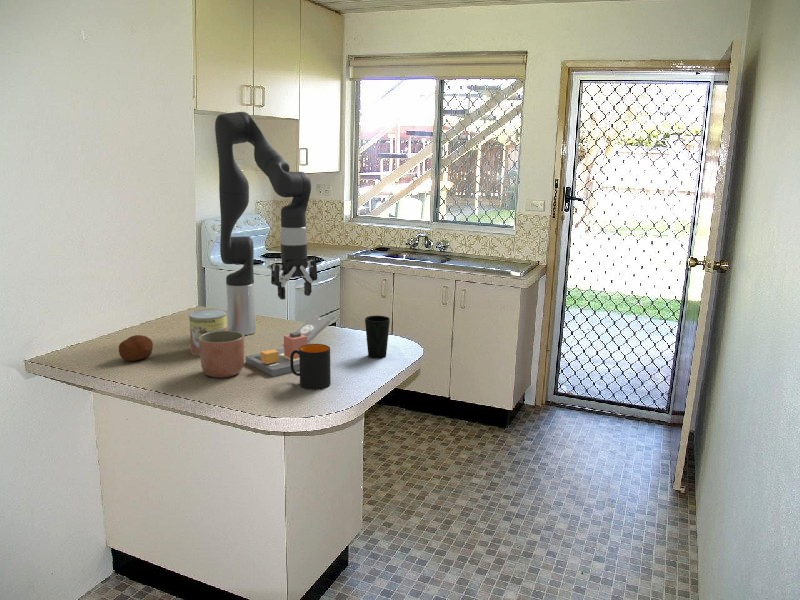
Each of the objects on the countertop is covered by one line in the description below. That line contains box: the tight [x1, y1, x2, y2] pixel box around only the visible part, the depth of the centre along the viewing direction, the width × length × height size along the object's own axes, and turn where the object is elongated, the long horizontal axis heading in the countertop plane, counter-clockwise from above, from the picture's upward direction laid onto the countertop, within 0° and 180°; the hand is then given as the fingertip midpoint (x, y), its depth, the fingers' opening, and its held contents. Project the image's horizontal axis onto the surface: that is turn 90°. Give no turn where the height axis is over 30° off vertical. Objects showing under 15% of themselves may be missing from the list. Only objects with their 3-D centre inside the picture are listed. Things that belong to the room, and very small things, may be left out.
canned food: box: [188, 309, 228, 357], centre depth 211 cm, size 11×11×12 cm
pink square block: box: [283, 331, 308, 359], centre depth 200 cm, size 5×5×7 cm
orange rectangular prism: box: [260, 349, 279, 364], centre depth 194 cm, size 3×4×3 cm
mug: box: [290, 343, 332, 391], centre depth 183 cm, size 8×12×10 cm
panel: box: [244, 347, 300, 377], centre depth 200 cm, size 16×16×2 cm
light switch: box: [295, 315, 332, 345], centre depth 221 cm, size 8×6×14 cm
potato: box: [118, 334, 154, 362], centre depth 202 cm, size 8×11×8 cm
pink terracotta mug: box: [198, 330, 245, 379], centre depth 190 cm, size 12×12×11 cm
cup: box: [364, 315, 391, 360], centre depth 208 cm, size 8×8×12 cm
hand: (295, 297), depth 198 cm, fingers open, 8 cm apart
